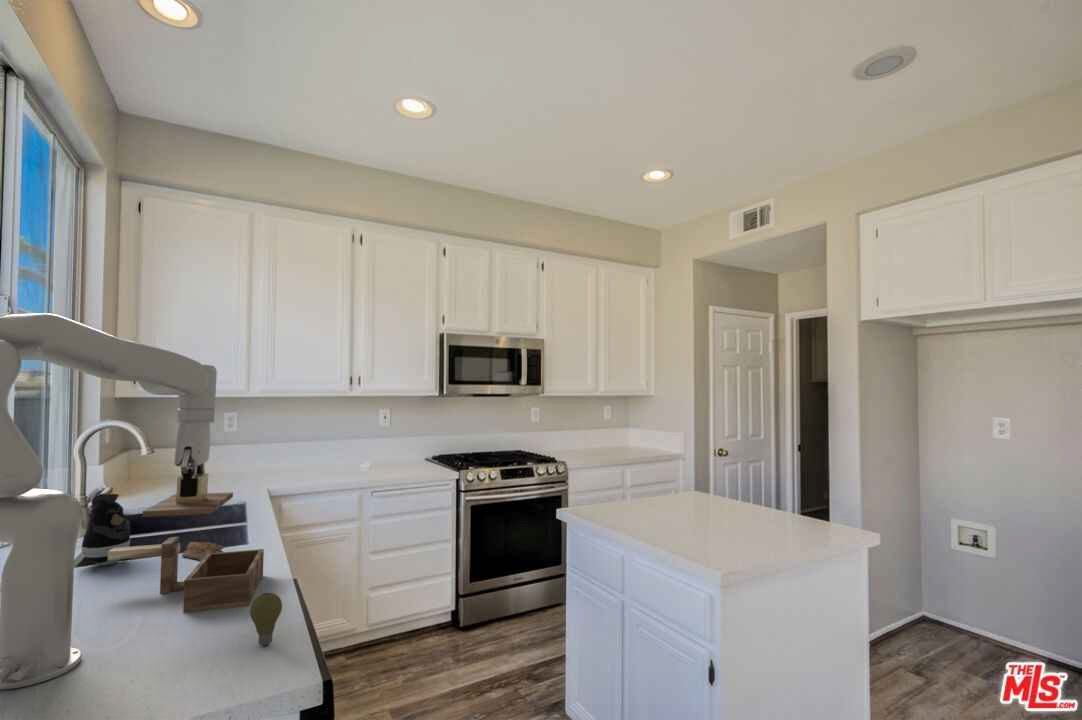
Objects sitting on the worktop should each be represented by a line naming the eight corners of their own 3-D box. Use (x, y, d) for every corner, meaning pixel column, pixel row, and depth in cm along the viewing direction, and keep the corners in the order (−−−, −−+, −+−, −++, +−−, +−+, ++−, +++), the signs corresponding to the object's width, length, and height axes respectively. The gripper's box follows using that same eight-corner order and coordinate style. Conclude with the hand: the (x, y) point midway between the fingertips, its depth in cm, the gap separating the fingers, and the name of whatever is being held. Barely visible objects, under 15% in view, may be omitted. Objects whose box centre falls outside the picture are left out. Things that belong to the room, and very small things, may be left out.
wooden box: (248, 605, 125) (250, 553, 126) (137, 617, 119) (139, 562, 119) (262, 575, 144) (264, 530, 145) (167, 584, 138) (169, 537, 138)
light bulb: (245, 654, 103) (247, 600, 104) (252, 640, 109) (253, 589, 109) (278, 650, 105) (279, 597, 105) (283, 637, 110) (284, 586, 111)
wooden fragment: (232, 559, 158) (232, 556, 158) (187, 568, 151) (187, 564, 151) (215, 539, 178) (215, 536, 178) (174, 546, 171) (174, 542, 171)
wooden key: (176, 554, 135) (176, 546, 135) (107, 560, 130) (108, 551, 130) (179, 551, 137) (180, 542, 137) (113, 556, 133) (113, 547, 133)
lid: (211, 516, 121) (212, 480, 121) (142, 519, 117) (144, 482, 118) (232, 499, 140) (234, 468, 140) (174, 501, 136) (175, 470, 137)
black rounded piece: (102, 573, 145) (105, 497, 146) (69, 570, 148) (72, 495, 148) (139, 560, 156) (142, 489, 157) (108, 557, 158) (111, 487, 159)
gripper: (189, 415, 137) (185, 488, 136) (165, 418, 121) (160, 502, 119) (223, 415, 139) (219, 487, 138) (203, 418, 123) (199, 500, 122)
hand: (192, 493), depth 129 cm, fingers closed on lid, 5 cm apart
